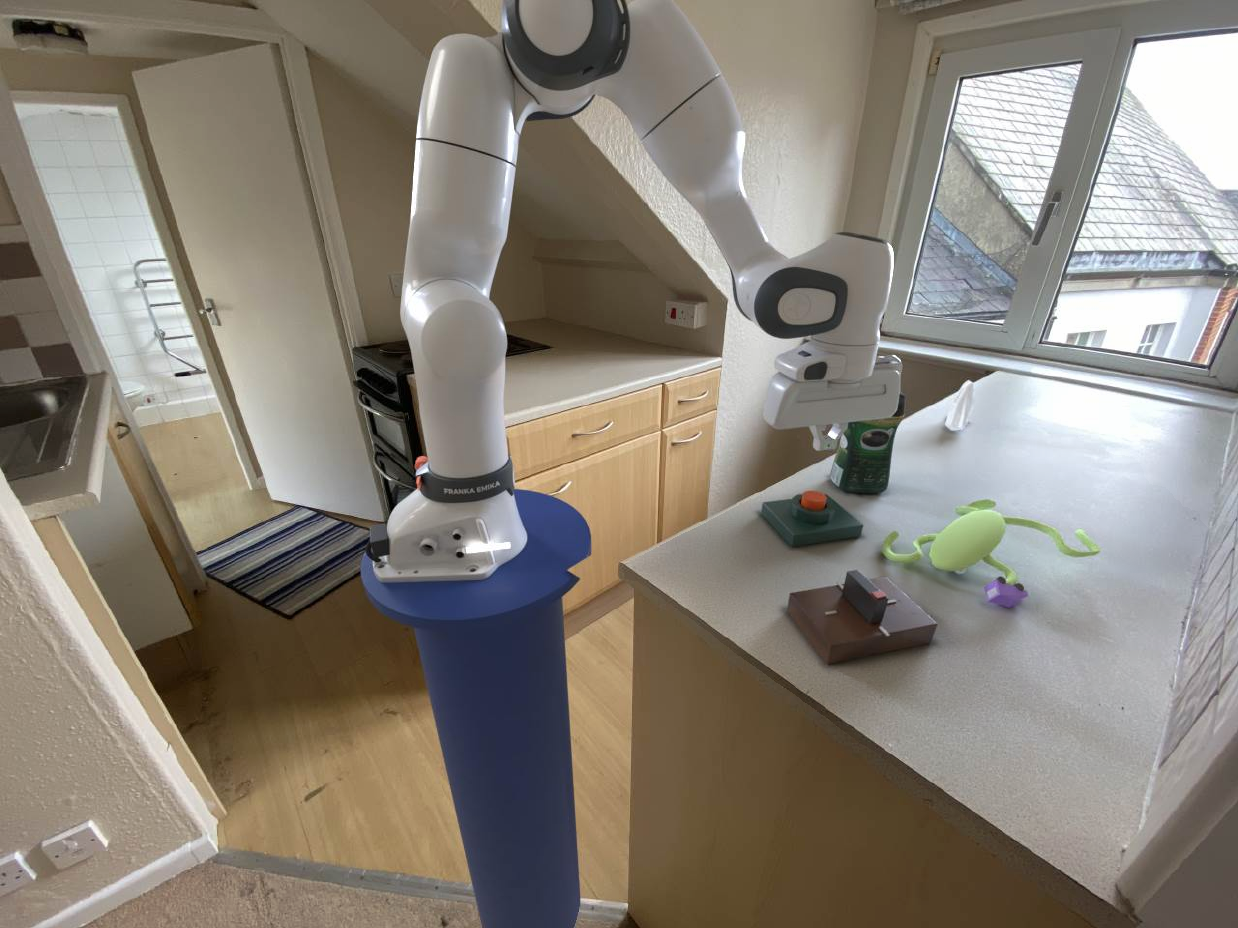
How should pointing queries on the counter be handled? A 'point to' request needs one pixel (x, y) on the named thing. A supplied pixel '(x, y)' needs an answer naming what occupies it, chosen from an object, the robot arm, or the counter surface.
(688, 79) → the robot arm
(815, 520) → the button box
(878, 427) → the coffee jar
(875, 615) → the dark block
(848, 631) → the knob panel
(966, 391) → the white folded napkin
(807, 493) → the button
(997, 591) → the figurine
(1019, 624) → the counter surface
